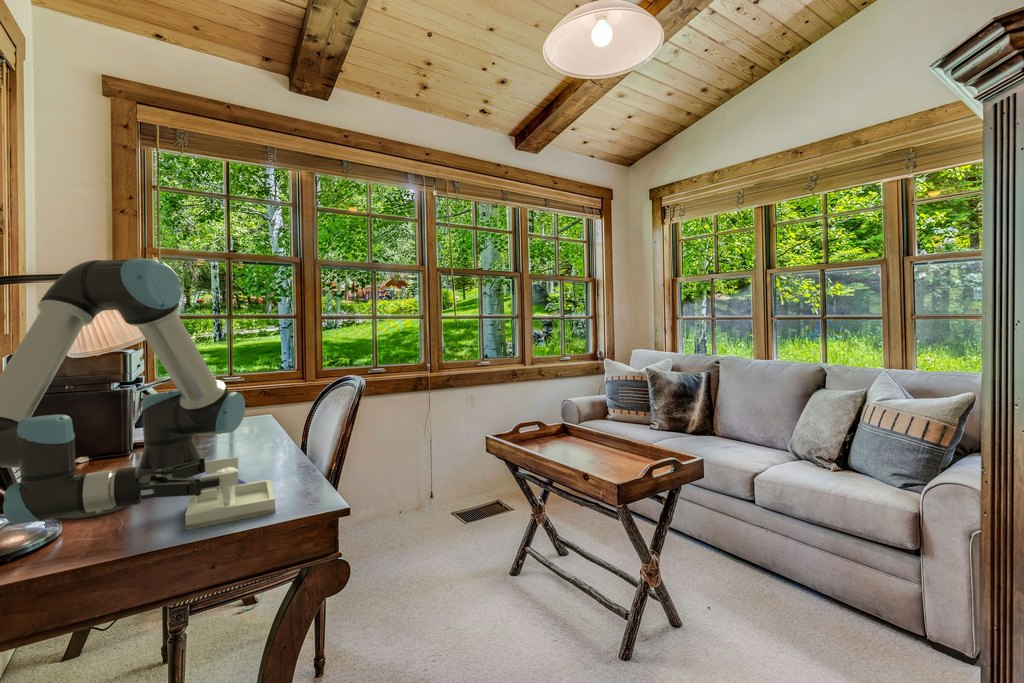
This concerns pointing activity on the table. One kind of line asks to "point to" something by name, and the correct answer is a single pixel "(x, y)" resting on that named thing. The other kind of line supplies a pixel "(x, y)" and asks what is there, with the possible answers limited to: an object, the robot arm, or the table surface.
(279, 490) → the table surface
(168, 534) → the table surface
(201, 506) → the tray
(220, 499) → the milkshake
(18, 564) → the table surface
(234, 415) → the robot arm
